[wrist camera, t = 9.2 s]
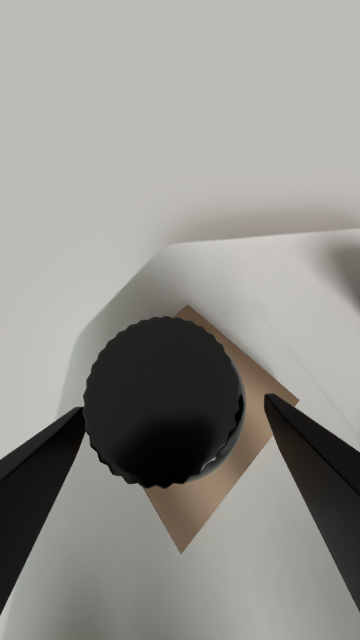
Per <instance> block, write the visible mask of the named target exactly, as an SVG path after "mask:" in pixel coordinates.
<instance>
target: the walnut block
mask: <svg viewBox="0 0 360 640" xmlns="http://www.w3.org/2000/svg"><path fill="white" fill-rule="evenodd" d="M175 317H180V318H182V319H183V320H186V321H187V320H189V321H192V322H193V323H194V324H195V325H198V326H203V327H204V329H205V330H206V331H207V332H208V333H211V334H213V335H214V337H215V339H216V341H217V342H219V343H220V344H222V345H223V347H224V350H225V351H226V352H227V353H228V354H229V356H230V357H231V358H232V360H233V361H234V363H235V365H236V367H237V368H238V371H239V373H240V375H241V378H242V381H243V385H244V389H245V396H246V415H245V422H244V426H243V430H242V433H241V436H240V438H239V440H238V443H237V445H236V446H235V448H234V450H233V451H232V453H231V454H230V456H229V457H228V458H227V459H226V460H225V461H224V463H223V464H222V465H221V466H219V467H218V468H217V469H216V470H215V471H213V472H212V473H210V474H208V475H207V476H205V477H203V478H200V479H198V480H195V481H192V482H187V483H185V484H174V483H173V484H172V485H171V486H170V487H168V488H166V489H162V488H160V487H158V486H154V487H151V488H148V489H145V488H143V489H144V490H145V492H146V494H147V496H148V497H149V499H150V501H151V503H152V504H153V506H154V508H155V510H156V511H157V513H158V515H159V517H160V518H161V520H162V522H163V524H164V525H165V527H166V529H167V531H168V532H169V534H170V536H171V538H172V539H173V541H174V543H175V545H176V546H177V548H178V550H179V552H180V553H181V554H182V552H183V551H184V550H185V549H186V547H187V546H188V545H189V543H190V542H191V541H192V539H193V538H194V537H195V536H196V534H197V533H198V532H199V530H200V529H201V528H202V526H203V525H204V524H205V523H206V521H207V520H208V519H209V517H210V516H211V515H212V513H213V512H214V511H215V510H216V508H217V507H218V506H219V504H220V503H221V502H222V500H223V499H224V498H225V497H226V495H227V494H228V493H229V491H230V490H231V489H232V487H233V486H234V485H235V484H236V482H237V481H238V480H239V478H240V477H241V476H242V474H243V473H244V472H245V471H246V469H247V468H248V467H249V465H250V464H251V463H252V461H253V460H254V459H255V458H256V456H257V455H258V454H259V452H260V451H261V450H262V448H263V447H264V446H265V445H266V443H267V442H268V441H269V439H270V438H271V437H272V435H273V432H272V430H271V427H270V424H269V422H268V419H267V417H266V414H265V411H264V395H265V394H266V393H274V394H276V395H278V396H279V397H280V398H282V399H283V400H285V401H286V402H288V403H289V404H291V405H292V406H294V407H295V406H296V404H297V403H298V402H299V399H298V398H296V397H295V396H294V395H293V394H292V393H291V392H289V391H288V390H287V389H286V388H285V387H284V386H282V385H281V384H280V383H279V382H278V381H277V380H275V379H274V378H273V377H272V376H271V375H270V374H268V373H267V372H266V371H265V370H264V369H262V368H261V367H260V366H259V365H258V364H257V363H255V362H254V361H253V360H252V359H251V358H250V357H248V356H247V355H246V354H245V353H244V352H243V351H241V350H240V349H239V348H238V347H237V346H236V345H234V344H233V343H232V342H231V341H230V340H229V339H227V338H226V337H225V336H224V335H223V334H222V333H220V332H219V331H218V330H217V329H216V328H215V327H213V326H212V325H211V324H210V323H209V322H208V321H206V320H205V319H204V318H203V317H202V316H201V315H199V314H198V313H197V312H196V311H195V310H194V309H192V308H191V307H190V306H189V305H187V306H185V307H184V308H183V309H182V310H181V311H180V312H179V313H177V314H176V315H175V316H174V317H173V318H175Z"/></svg>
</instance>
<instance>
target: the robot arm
mask: <svg viewBox="0 0 360 640" xmlns="http://www.w3.org/2000/svg"><path fill="white" fill-rule="evenodd" d="M83 408H84V407H75V408H73V409H72V410H71V411H69V412H68V413H66V414H65V415H64V416H62V417H61V418H59V419H58V420H56V421H55V422H54V423H52V424H51V425H49V426H48V427H47V428H45V429H44V430H42V431H41V432H39V433H38V434H36V435H35V436H34V437H32V438H31V439H30V440H28V441H27V442H25V443H24V444H22V445H21V446H19V447H18V448H17V449H15V450H14V451H12V452H11V453H9V454H8V455H6V456H5V457H4V458H2V459H1V460H0V615H1V613H2V611H3V609H4V607H5V604H6V602H7V600H8V598H9V596H10V594H11V592H12V590H13V588H14V586H15V584H16V581H17V579H18V577H19V575H20V573H21V571H22V569H23V567H24V565H25V563H26V560H27V558H28V556H29V554H30V552H31V550H32V548H33V546H34V544H35V542H36V540H37V537H38V535H39V533H40V531H41V529H42V527H43V525H44V523H45V521H46V519H47V516H48V514H49V512H50V510H51V508H52V506H53V504H54V502H55V500H56V498H57V496H58V493H59V491H60V489H61V487H62V485H63V483H64V481H65V479H66V477H67V475H68V472H69V470H70V468H71V466H72V464H73V462H74V460H75V457H76V455H77V453H78V450H79V447H80V445H81V442H82V440H83V437H84V434H85V432H86V431H85V421H86V420H85V418H84V416H83ZM264 411H265V414H266V417H267V419H268V422H269V424H270V427H271V430H272V432H273V435H274V438H275V440H276V443H277V445H278V448H279V450H280V452H281V454H282V456H283V458H284V460H285V462H286V464H287V466H288V468H289V470H290V472H291V474H292V476H293V478H294V480H295V483H296V485H297V487H298V489H299V491H300V493H301V495H302V497H303V499H304V501H305V503H306V505H307V507H308V509H309V511H310V513H311V515H312V517H313V519H314V521H315V523H316V525H317V527H318V529H319V531H320V533H321V535H322V537H323V539H324V541H325V543H326V545H327V547H328V549H329V551H330V553H331V555H332V557H333V559H334V561H335V563H336V565H337V568H338V570H339V572H340V574H341V576H342V578H343V580H344V582H345V584H346V586H347V588H348V590H349V592H350V594H351V596H352V598H353V600H354V602H355V604H356V606H357V608H358V610H359V612H360V452H359V451H357V450H356V449H354V448H353V447H352V446H350V445H349V444H347V443H346V442H344V441H343V440H341V439H340V438H338V437H337V436H336V435H334V434H333V433H331V432H330V431H328V430H327V429H325V428H324V427H323V426H321V425H320V424H318V423H317V422H315V421H314V420H312V419H311V418H309V417H308V416H307V415H305V414H304V413H302V412H301V411H299V410H298V409H296V408H295V407H294V406H292V405H291V404H289V403H288V402H286V401H285V400H283V399H282V398H280V397H279V396H278V395H276V394H274V393H266V394H265V395H264Z"/></svg>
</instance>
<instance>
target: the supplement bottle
mask: <svg viewBox="0 0 360 640" xmlns="http://www.w3.org/2000/svg"><path fill="white" fill-rule="evenodd" d="M86 385H87V388H86V391H85V393H84V395H83V398H84V403H85V405H84V408H83V416H84V418H85V420H86V421H85V431H86V432H87V434H88V435H89V436H90V446H91V447H92V448H93V449H94V450H95V451H96V452H97V454H98V458H99V461H100V462H101V463H103V464H105V465H108V467H109V469H110V471H111V473H112V474H113V475H116V476H122V477H123V478H124V480H125V481H126V482H127V483H128V484H136V483H138V484H139V485H140V486H142V487H143V488H145V489H148V488H151V487H154V486H158V487H160V488H162V489H166V488H168V487H170V486H171V485H172V484H173V483H174V484H185V483H187V482H192V481H195V480H198V479H200V478H203V477H205V476H207V475H208V474H210V473H212V472H213V471H215V470H216V469H217V468H218V467H219V466H221V465H222V464H223V463H224V461H225V460H226V459H227V458H228V457H229V456H230V454H231V453H232V451H233V450H234V448H235V446H236V445H237V443H238V440H239V438H240V436H241V433H242V430H243V426H244V422H245V415H246V396H245V389H244V385H243V381H242V378H241V375H240V373H239V371H238V368H237V367H236V365H235V363H234V361H233V360H232V358H231V357H230V356H229V354H228V353H227V352H226V351H225V350H224V347H223V345H222V344H220V343H219V342H217V341H216V339H215V337H214V335H213V334H211V333H208V332H207V331H206V330H205V329H204V327H203V326H198V325H195V324H194V323H193V322H192V321H189V320H187V321H186V320H183V319H182V318H180V317H175V318H171V317H169V316H164V317H161V318H159V317H153V318H151V319H149V320H141V321H140V322H138V323H137V324H133V325H130V326H129V327H127V329H126V330H124V331H121V332H119V333H118V334H117V335H116V337H115V338H114V339H112V340H110V341H109V342H108V343H107V345H106V347H105V348H104V349H103V350H102V351H101V352H100V353H99V355H98V359H97V361H96V362H95V363H94V364H93V365H92V369H91V374H90V375H89V377H88V379H87V381H86Z"/></svg>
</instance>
